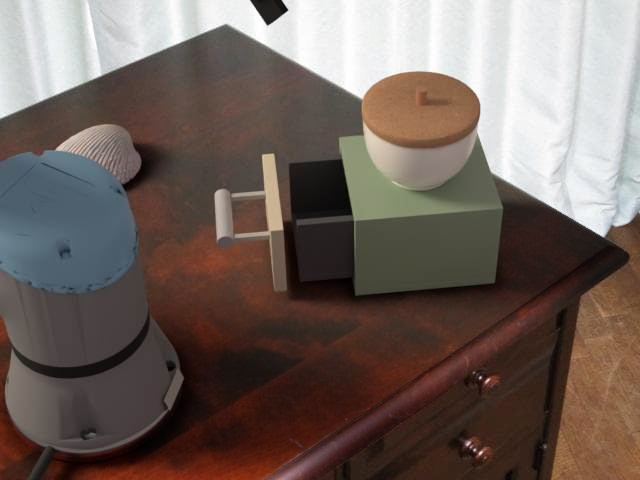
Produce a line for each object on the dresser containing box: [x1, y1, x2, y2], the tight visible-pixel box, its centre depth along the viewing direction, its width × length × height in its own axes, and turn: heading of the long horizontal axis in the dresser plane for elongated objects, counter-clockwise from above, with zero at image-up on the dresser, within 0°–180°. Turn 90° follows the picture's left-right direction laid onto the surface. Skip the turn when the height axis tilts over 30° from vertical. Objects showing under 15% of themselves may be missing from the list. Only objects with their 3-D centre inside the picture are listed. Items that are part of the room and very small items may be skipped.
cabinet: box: [338, 132, 504, 296], centre depth 112 cm, size 14×13×10 cm
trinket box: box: [361, 70, 481, 191], centre depth 106 cm, size 11×11×9 cm
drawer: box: [213, 153, 354, 293], centre depth 111 cm, size 18×11×8 cm, turn 96°
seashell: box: [55, 123, 142, 185], centre depth 125 cm, size 10×6×10 cm
